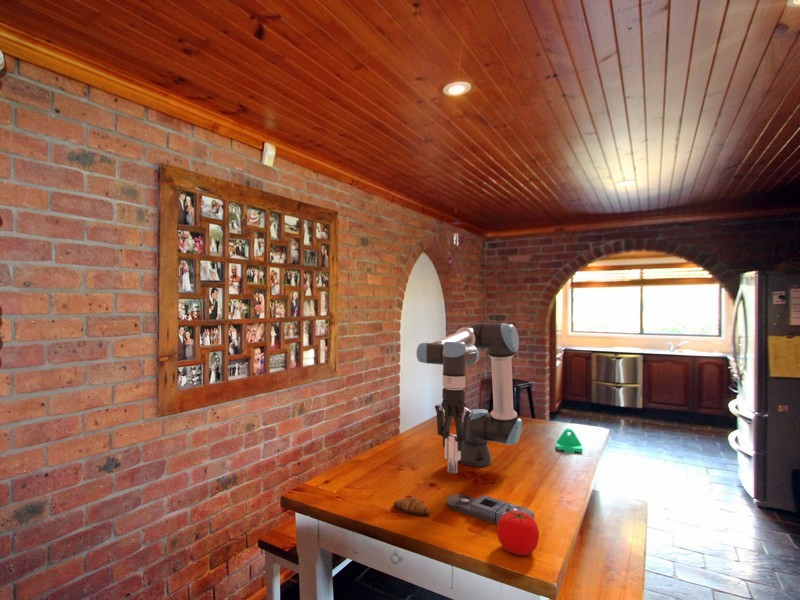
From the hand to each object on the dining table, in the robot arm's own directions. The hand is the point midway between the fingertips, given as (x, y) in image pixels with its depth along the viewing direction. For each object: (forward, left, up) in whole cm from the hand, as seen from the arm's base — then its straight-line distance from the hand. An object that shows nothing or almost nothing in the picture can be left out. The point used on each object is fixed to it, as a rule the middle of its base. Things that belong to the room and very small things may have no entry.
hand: (452, 458), depth 142 cm
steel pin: (0, 0, -4) cm, 4 cm away
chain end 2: (+14, +11, -20) cm, 26 cm away
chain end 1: (+3, +11, -20) cm, 23 cm away
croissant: (-14, -3, -21) cm, 25 cm away
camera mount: (+10, +100, -20) cm, 103 cm away
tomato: (+24, -3, -20) cm, 32 cm away
